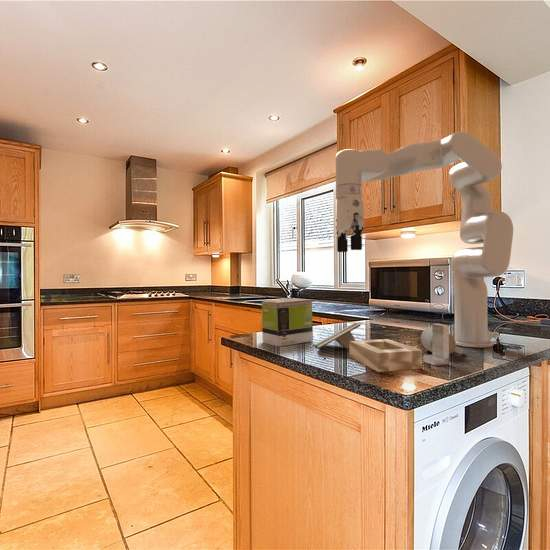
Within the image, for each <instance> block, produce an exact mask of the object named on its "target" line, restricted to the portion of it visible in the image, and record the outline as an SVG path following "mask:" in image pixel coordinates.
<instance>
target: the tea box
mask: <svg viewBox="0 0 550 550" xmlns="http://www.w3.org/2000/svg"><path fill="white" fill-rule="evenodd" d="M313 326H314V325H313V301H312V299H305V298H283V299H272V300H262V301H261V329H262V330H261V331H262V333H261V334H262V343H264V344H267V345H271V346H273V347H274V346H275V347H284V346H285V347H286V346H290V345H297V344H302V343H310V342H313V341H314V330H313V329H314V327H313Z"/></svg>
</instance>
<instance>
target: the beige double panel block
mask: <svg viewBox="0 0 550 550" xmlns="http://www.w3.org/2000/svg"><path fill="white" fill-rule="evenodd" d="M362 324H363V322H358V323H357V322H354V323H352V324H350V325H347V326H346V327H344V328H342V329H340V330H339V331H337V332H336V333H334V334H332V335H329V336H328V337H326V338H324V339H321V340H320V341H318V342H316V343H315V344H314V346H315V347H316V348H317V349H322V348H323V347H325V346H327V345H328V344H330V343H332V342H334V341H336V342H337V343H338V344H339V345H340V346H341V347H343V349H346V350H348V349H349V341H356V338H355V337H354V335H353V333H352V332H353V331H354V330H356V329H357V328H360V327H361V325H362Z"/></svg>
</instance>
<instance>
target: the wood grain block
mask: <svg viewBox="0 0 550 550" xmlns="http://www.w3.org/2000/svg"><path fill="white" fill-rule="evenodd" d="M431 326H432V352H431V354H425V355H423V354H422V363H423V362H424V363H427V364H429V365H432V366H445V365H450V354H449V333H450V332H449V331H450V326H449V324H448V325H447V324H441V323H438V322H437V323H432V324H431Z"/></svg>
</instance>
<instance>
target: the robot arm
mask: <svg viewBox="0 0 550 550" xmlns="http://www.w3.org/2000/svg"><path fill="white" fill-rule="evenodd" d="M461 161H462V162H461ZM458 162H459V163H458ZM455 163H457V164H456V165H454V166H453V167H452V168H451V169H450V170H449V173H448V180H449V182H450V184H451V185H452V187H453V188H454V189H455V190H456V191H457V192H458V194H459V195H460V197H461V199H462V210H461V219H460V228H459V237H460V240H461V241H462V242H463V243H465V244H468V245H481V244H482V246H476V247H467V248H462V249H460V250H458V251H456V252H455V253H453V255H452V256H451V261H450V267H451V272H452V277H453V285H454V339H455V342H456V346H457V347H464V348H477V349H478V348H481V349H482V348H491V347H493V346H494V342H493V341H492V340H491V339H499V338H500V332H499V331H492V332H491V330H489V329H488V324H489V323H488V297H489V296H488V288H487V285H486V284H487V283H485V280H484V279H483V278H496V277H501V276H502V275H504V274H505V273H506V271H507V270H508V268H509V266H510V261H511V254H512V245H513V237H514V226H513V225H514V224H513V222H512V219H511V217H510V215H509V214H507V213H506V212H503V211H501V210H497V211H496V210H494V211H492V210H493V198H492V195H491V193H490V191H489V190H488V189H487V188H486V187H485V186H484V183H488V182H490V181H493V180H495V179H496V178H497V177H498V176H500V174H501V173H502V172H501V171H502V168H503V164H502V160H501V159H500V157H499V156H498V155H497V154H496V152H494V151H493V150H492V149H490V148H489V147H488V146H487V145H485V144H484V143H483V142H482V141H480V140H479V139H477V137H475V136H473V135H472V134H470V133H467V132H465V131H462V130H461V131H455V132H453V133H452V134H450V135H447V136H446V137H443V138H442V139H439V140H432V141H426V142H418V143H413V144H412V143H411V144H408V145H406V146H403V147H402V146H401V147H400V148H398V149H396V150H394V151H392V152H389V153H387V152H386V151H384V150H382V149H365V150H363V149H361V150H359V149H354V148H348V149H347V148H346V149H342V150H340V151H338V152H337V153H336V155H335V199H336V200H337V204H336V222H335V223H336V226H335V231H336V233H335V234H336V239H337V241H336V245H337V246H336V251H337V252H338V253H346V252H348V249H349V248H348V245H349V244H348V233H350V234H351V235H350V250H351V251H361V250H363V234H364V233H363V230H364V228H365V212H364V202H363V197H362V196H363V194H362V193H363V192H362V190H363V187H362V183H363V184H365V183H369V182H370V183H371V182H376V181H382V180H386V179H390V178H395V177H401V176H404V175H408V174H409V175H410V174H413V173H418V172H424V171H429V170H435V169H441V168H446V167H449V166H451V165H453V164H455Z"/></svg>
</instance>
